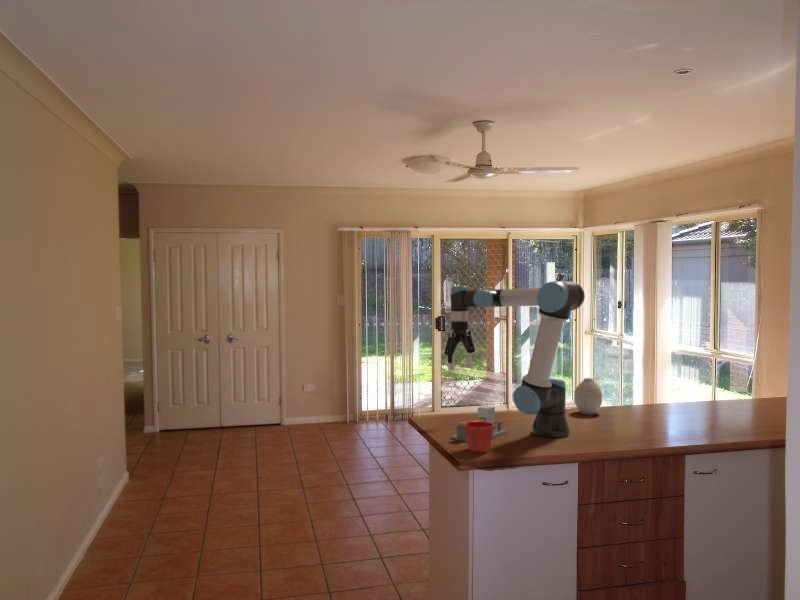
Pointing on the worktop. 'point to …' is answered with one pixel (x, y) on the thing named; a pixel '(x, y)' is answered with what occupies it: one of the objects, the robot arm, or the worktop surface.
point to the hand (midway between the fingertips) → (460, 368)
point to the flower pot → (479, 435)
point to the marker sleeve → (487, 413)
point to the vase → (588, 397)
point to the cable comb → (461, 427)
